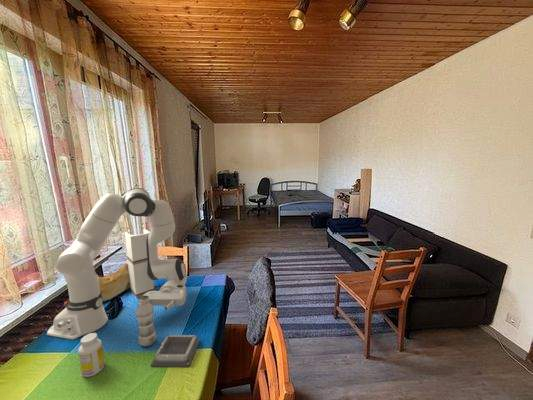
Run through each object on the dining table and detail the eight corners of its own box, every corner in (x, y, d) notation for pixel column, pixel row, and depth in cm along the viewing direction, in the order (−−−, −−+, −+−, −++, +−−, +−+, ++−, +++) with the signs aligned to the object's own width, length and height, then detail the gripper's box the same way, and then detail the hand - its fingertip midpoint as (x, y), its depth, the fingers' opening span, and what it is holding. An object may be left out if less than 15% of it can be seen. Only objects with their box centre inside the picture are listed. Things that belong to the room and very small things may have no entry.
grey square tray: (150, 366, 86) (150, 358, 86) (166, 340, 99) (165, 333, 99) (189, 367, 86) (188, 358, 85) (199, 340, 99) (199, 333, 98)
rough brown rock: (126, 281, 152) (122, 259, 150) (140, 286, 142) (136, 262, 141) (83, 300, 132) (78, 275, 130) (97, 307, 123) (91, 280, 121)
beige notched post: (156, 291, 138) (151, 232, 133) (136, 298, 131) (130, 236, 126) (149, 284, 147) (145, 228, 141) (130, 290, 139) (124, 232, 134)
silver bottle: (150, 350, 94) (145, 303, 91) (135, 347, 95) (130, 301, 92) (160, 338, 100) (156, 294, 97) (146, 336, 102) (142, 292, 99)
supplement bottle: (101, 359, 90) (97, 328, 88) (107, 368, 86) (103, 336, 84) (79, 371, 85) (74, 338, 83) (84, 381, 81) (80, 347, 79)
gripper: (147, 285, 118) (131, 301, 104) (188, 286, 118) (178, 302, 104) (148, 297, 119) (132, 315, 105) (189, 297, 118) (178, 315, 105)
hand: (155, 308), depth 105 cm, fingers open, 8 cm apart
